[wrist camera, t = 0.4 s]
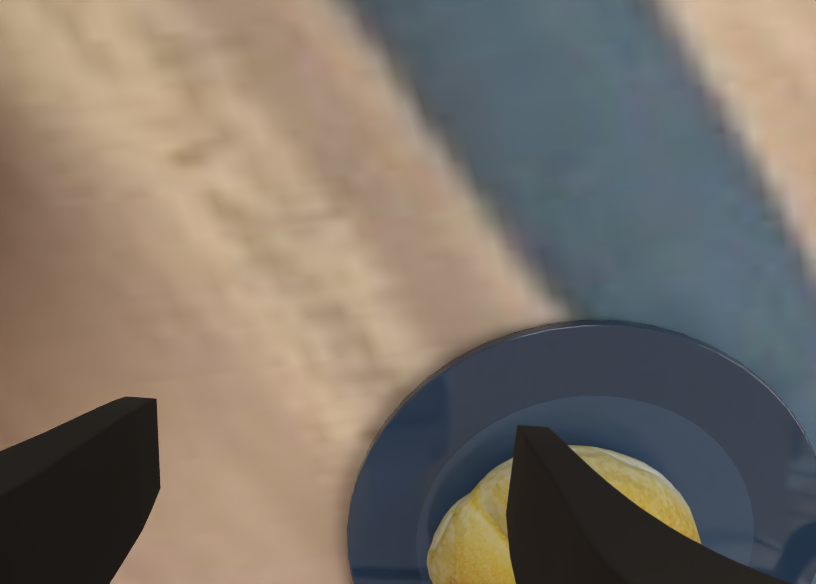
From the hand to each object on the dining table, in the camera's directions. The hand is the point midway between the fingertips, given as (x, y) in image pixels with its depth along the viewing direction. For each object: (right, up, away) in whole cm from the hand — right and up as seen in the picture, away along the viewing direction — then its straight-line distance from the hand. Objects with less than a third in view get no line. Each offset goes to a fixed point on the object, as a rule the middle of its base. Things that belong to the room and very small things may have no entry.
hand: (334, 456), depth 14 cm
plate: (+8, -6, +12) cm, 15 cm away
